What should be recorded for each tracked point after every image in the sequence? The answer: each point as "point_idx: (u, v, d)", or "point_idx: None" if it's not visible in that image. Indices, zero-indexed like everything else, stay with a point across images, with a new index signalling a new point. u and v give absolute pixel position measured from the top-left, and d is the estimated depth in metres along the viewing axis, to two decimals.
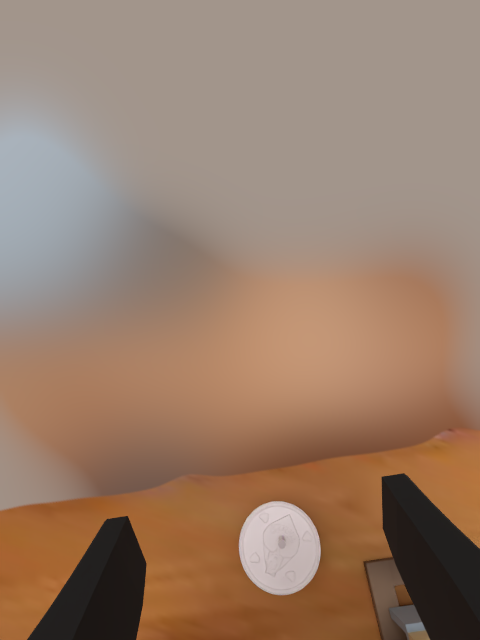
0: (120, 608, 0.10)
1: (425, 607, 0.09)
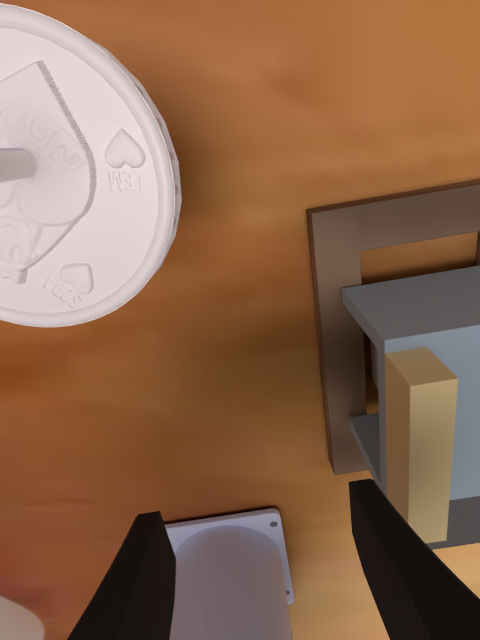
0: (156, 603, 0.10)
1: (387, 612, 0.09)
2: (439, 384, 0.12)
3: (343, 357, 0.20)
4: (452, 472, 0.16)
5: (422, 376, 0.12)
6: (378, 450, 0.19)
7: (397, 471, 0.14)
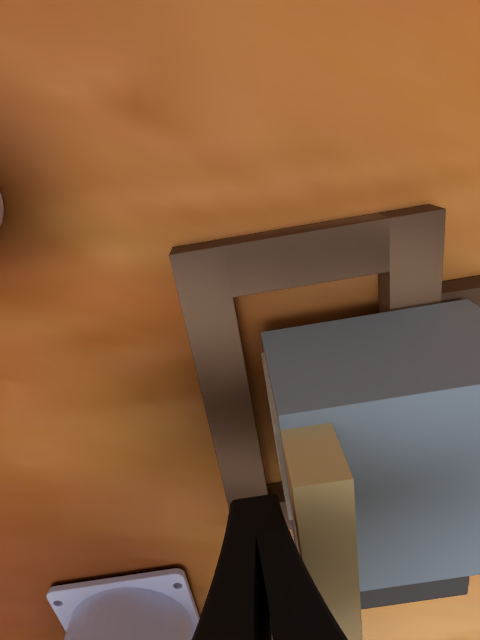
0: (263, 587, 0.10)
1: None
2: (329, 485, 0.09)
3: (228, 413, 0.17)
4: (379, 559, 0.13)
5: (311, 472, 0.09)
6: None
7: None
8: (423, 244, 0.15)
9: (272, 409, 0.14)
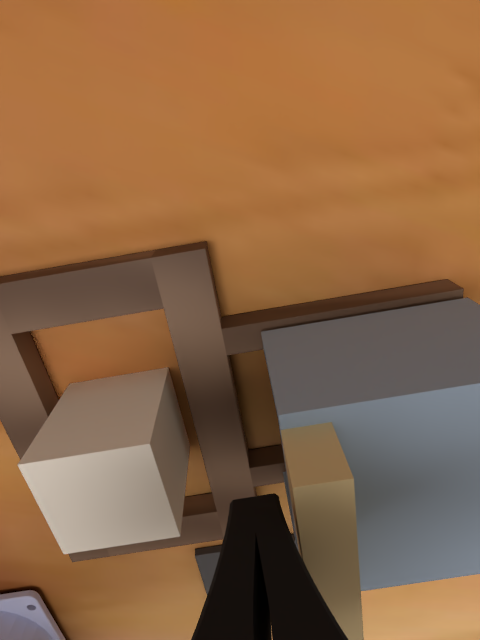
0: (263, 587, 0.10)
1: None
2: (329, 485, 0.09)
3: None
4: (380, 559, 0.13)
5: (312, 472, 0.09)
6: None
7: None
8: (191, 282, 0.15)
9: (29, 447, 0.14)
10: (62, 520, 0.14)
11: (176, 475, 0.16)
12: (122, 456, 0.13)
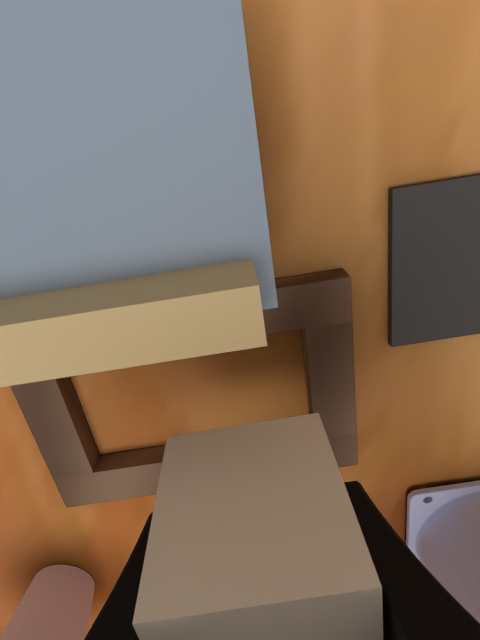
0: None
1: None
2: None
3: None
4: (200, 215, 0.09)
5: None
6: None
7: None
8: None
9: None
10: None
11: (289, 518, 0.09)
12: None
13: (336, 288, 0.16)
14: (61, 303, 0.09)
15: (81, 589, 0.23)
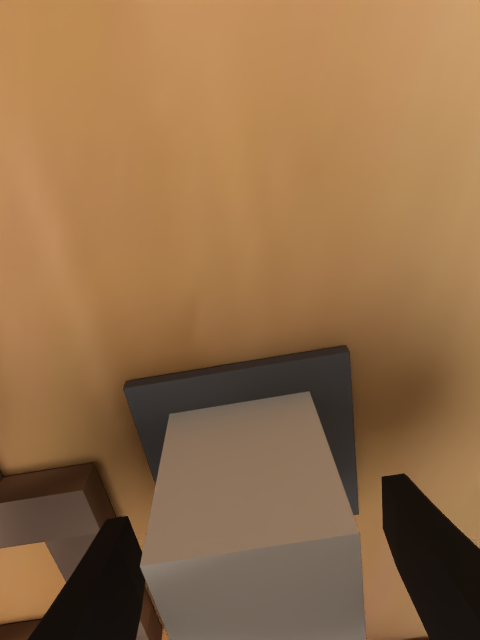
0: (120, 608, 0.10)
1: (425, 607, 0.09)
2: None
3: None
4: None
5: None
6: None
7: None
8: None
9: None
10: None
11: (280, 479, 0.10)
12: (168, 595, 0.08)
13: (69, 501, 0.13)
14: None
15: None
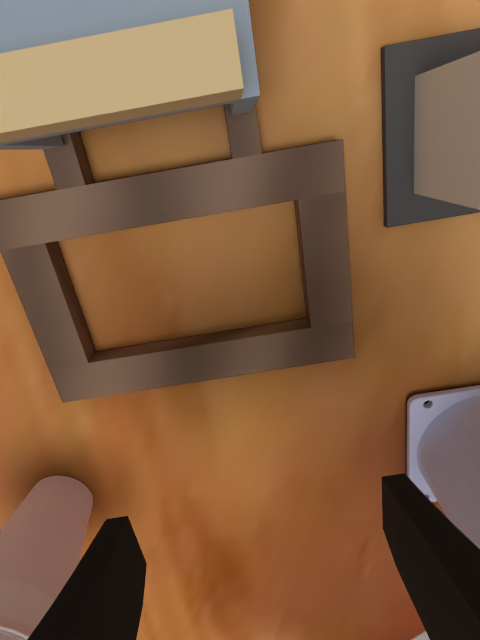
0: (120, 608, 0.10)
1: (425, 607, 0.09)
2: None
3: (197, 365, 0.20)
4: None
5: None
6: None
7: (130, 114, 0.09)
8: (15, 217, 0.17)
9: (466, 205, 0.14)
10: None
11: None
12: None
13: (328, 152, 0.16)
14: None
15: (79, 497, 0.23)
